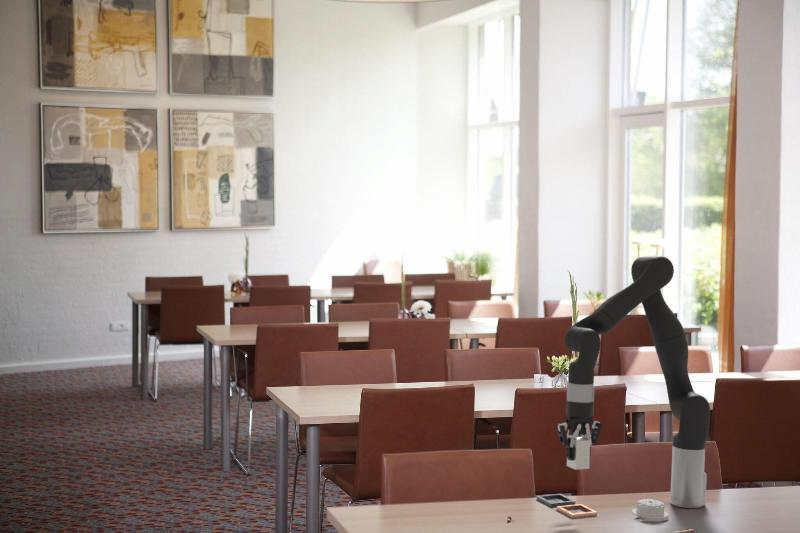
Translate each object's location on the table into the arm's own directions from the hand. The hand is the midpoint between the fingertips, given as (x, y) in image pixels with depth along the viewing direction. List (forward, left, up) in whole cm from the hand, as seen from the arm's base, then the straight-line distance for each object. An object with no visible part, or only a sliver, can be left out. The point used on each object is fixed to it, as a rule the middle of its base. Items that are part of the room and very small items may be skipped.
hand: (578, 458), depth 286 cm
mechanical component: (-20, +7, -17) cm, 27 cm away
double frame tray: (0, -5, -16) cm, 17 cm away
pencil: (+16, -9, -17) cm, 25 cm away
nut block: (0, 0, -2) cm, 2 cm away
